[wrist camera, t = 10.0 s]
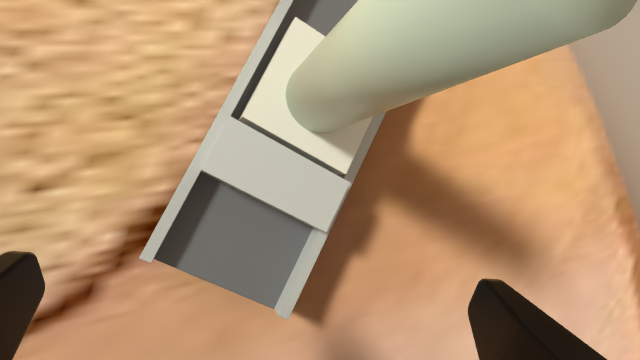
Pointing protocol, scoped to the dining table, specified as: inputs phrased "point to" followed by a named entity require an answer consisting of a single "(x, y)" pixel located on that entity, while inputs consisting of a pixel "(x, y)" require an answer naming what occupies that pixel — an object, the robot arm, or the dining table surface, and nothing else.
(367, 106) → the slider with handle
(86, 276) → the dining table surface
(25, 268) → the robot arm
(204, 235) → the track
